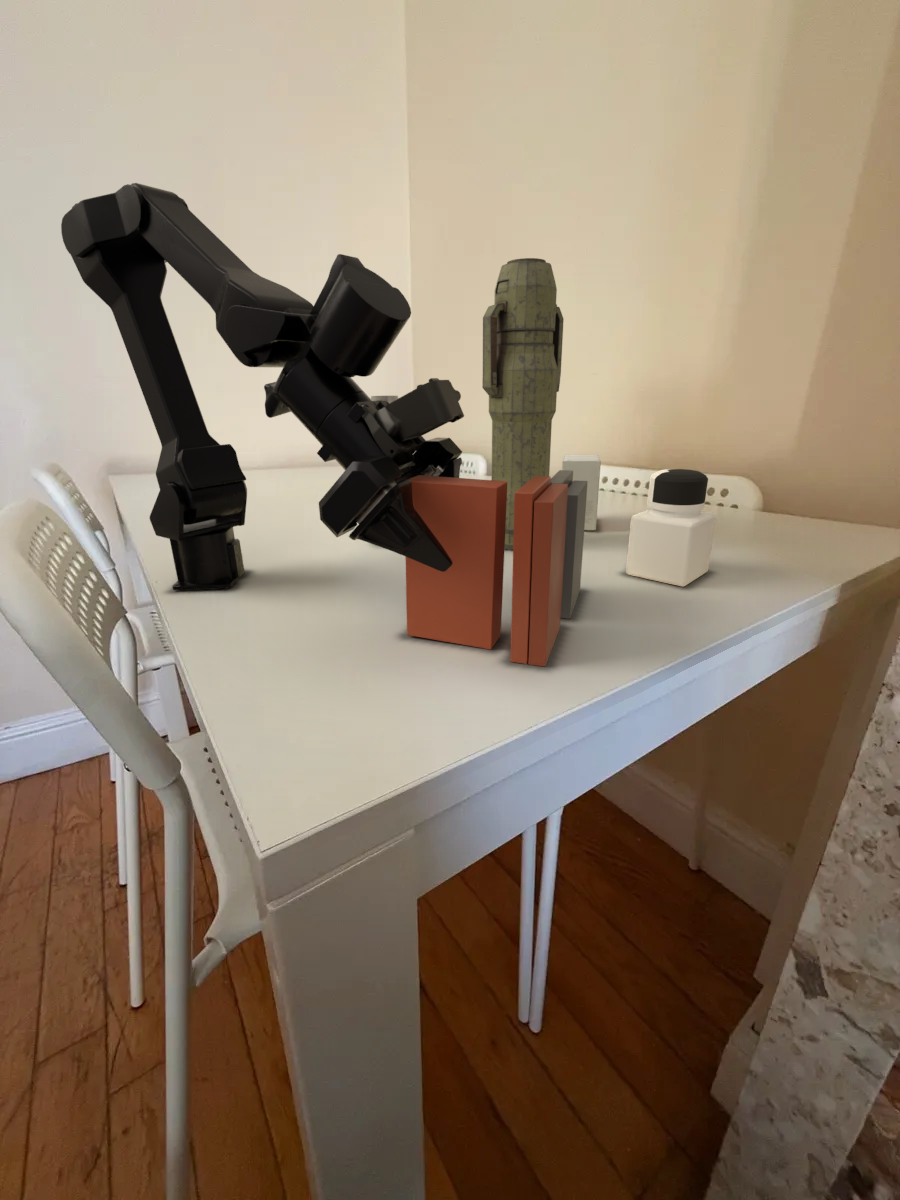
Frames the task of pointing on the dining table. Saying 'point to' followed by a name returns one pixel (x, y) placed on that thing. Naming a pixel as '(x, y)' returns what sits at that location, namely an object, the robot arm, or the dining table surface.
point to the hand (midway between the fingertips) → (465, 552)
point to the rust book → (459, 561)
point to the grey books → (572, 539)
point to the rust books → (537, 569)
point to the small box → (587, 471)
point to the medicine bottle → (672, 529)
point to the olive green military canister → (522, 374)
